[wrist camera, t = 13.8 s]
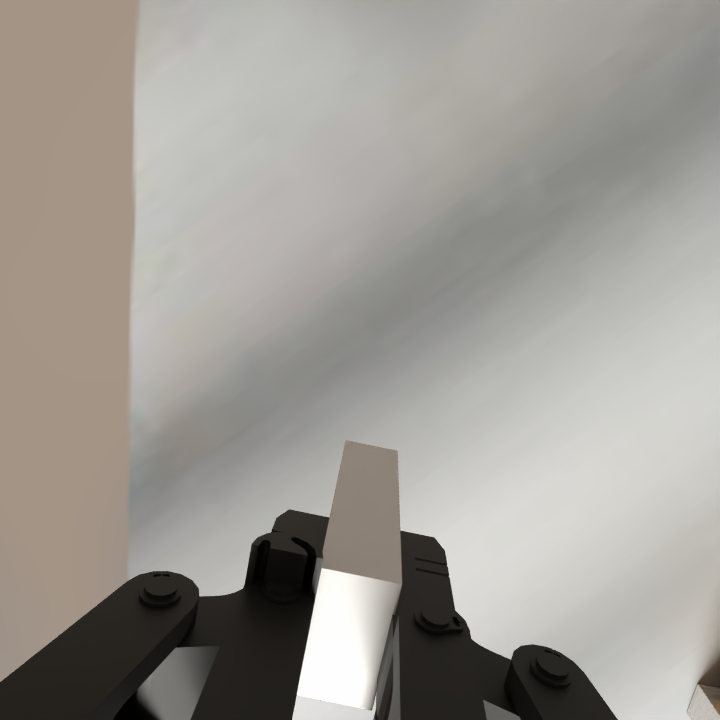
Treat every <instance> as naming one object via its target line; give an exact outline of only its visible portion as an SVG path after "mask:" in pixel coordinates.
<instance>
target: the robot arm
mask: <svg viewBox="0 0 720 720" xmlns="http://www.w3.org/2000/svg"><path fill="white" fill-rule="evenodd" d="M376 692H377V694H376ZM297 695H299V696H304V697H309V698H313V699H318V700H323V701H328V702H333V703H338V704H342V705H347V706H352V707H357V708H362V709H367V710H372V708H373V704H374V700H375V696H376V711H375V715H374V719H373V720H618V719H617V718H616V717H615V715H614V714H613V712H612V711H611V710H610V708H609V707H608V705H607V704H606V703H605V701H604V700H603V698H602V697H601V696H600V694H599V693H598V691H597V690H596V689H595V687H594V686H593V684H592V683H591V682H590V680H589V679H588V677H587V676H586V675H585V673H584V672H583V671H582V670H581V669H580V668H579V667H578V666H577V665H576V664H575V663H574V662H573V661H572V660H570V659H569V658H567V657H566V656H564V655H563V654H561V653H560V652H558V651H556V650H552V649H551V648H548V647H544V646H538V645H533V644H532V645H524V646H520V647H519V648H518V649H516V650H515V651H514V652H513V656H512V659H511V660H510V659H508V658H505V657H503V656H501V655H498V654H496V653H494V652H492V651H490V650H488V649H486V648H484V647H482V646H480V645H479V644H477V643H476V642H474V641H473V640H472V639H471V635H470V630H469V628H468V626H467V623H466V621H465V620H464V619H463V618H462V617H461V616H460V615H459V614H458V613H457V612H456V611H455V607H454V601H453V595H452V590H451V584H450V578H449V572H448V567H447V560H446V555H445V550H444V549H443V548H442V547H441V545H440V544H439V543H438V542H437V540H436V539H435V538H434V537H429V536H424V535H419V534H414V533H409V532H404V531H400V509H399V481H398V452H397V451H395V450H391V449H386V448H381V447H376V446H371V445H366V444H361V443H356V442H351V441H345V446H344V451H343V456H342V461H341V465H340V470H339V475H338V480H337V485H336V489H335V494H334V499H333V504H332V509H331V513H330V518H328V517H323V516H318V515H314V514H309V513H304V512H299V511H294V510H288V511H286V512H285V513H283V514H282V515H280V516H279V517H277V518H276V521H275V523H274V526H273V529H272V532H271V533H267V534H265V535H262V536H260V537H258V538H257V539H256V540H255V541H254V542H253V543H252V546H251V552H250V557H249V563H248V569H247V575H246V581H245V585H244V588H243V589H241V590H239V591H237V592H235V593H232V594H228V595H222V596H203V597H199V589H198V587H197V586H196V585H195V583H194V582H193V581H192V580H191V579H189V578H187V577H185V576H183V575H182V574H177V573H173V572H169V571H153V572H149V573H145V574H140V575H138V576H136V577H134V578H132V579H131V580H129V581H127V582H126V583H125V584H123V585H122V586H121V587H120V588H118V589H117V590H116V591H115V592H113V593H112V594H111V595H110V596H108V597H107V598H106V599H104V600H103V601H102V602H101V603H99V604H98V605H97V606H96V607H95V608H93V609H92V610H91V611H89V612H88V613H87V614H86V615H84V616H83V617H82V618H81V619H79V620H78V621H77V622H76V623H74V624H73V625H72V626H71V627H69V628H68V629H67V630H66V631H64V632H63V633H62V634H60V635H59V636H58V637H57V638H56V639H54V640H53V641H52V642H50V643H49V644H48V645H47V646H45V647H44V648H43V649H42V650H40V651H39V652H38V653H36V654H35V655H34V656H33V657H31V658H30V659H29V660H28V661H26V662H25V663H24V664H23V665H21V666H20V667H19V668H18V669H16V670H15V671H14V672H13V673H11V674H10V675H9V676H8V677H6V678H5V679H4V680H3V681H1V682H0V720H292V716H293V711H294V706H295V701H296V696H297Z"/></svg>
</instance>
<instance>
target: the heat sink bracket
mask: <svg viewBox="0 0 720 720" xmlns="http://www.w3.org/2000/svg"><path fill="white" fill-rule="evenodd" d="M687 714H688V715H689V717H690V719H691V720H720V688H717V687H712V686H707V685H702V684H697V687H696V690H695V692H694V695H693V698H692V700H691V703H690V705H689V708H688V711H687Z"/></svg>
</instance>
